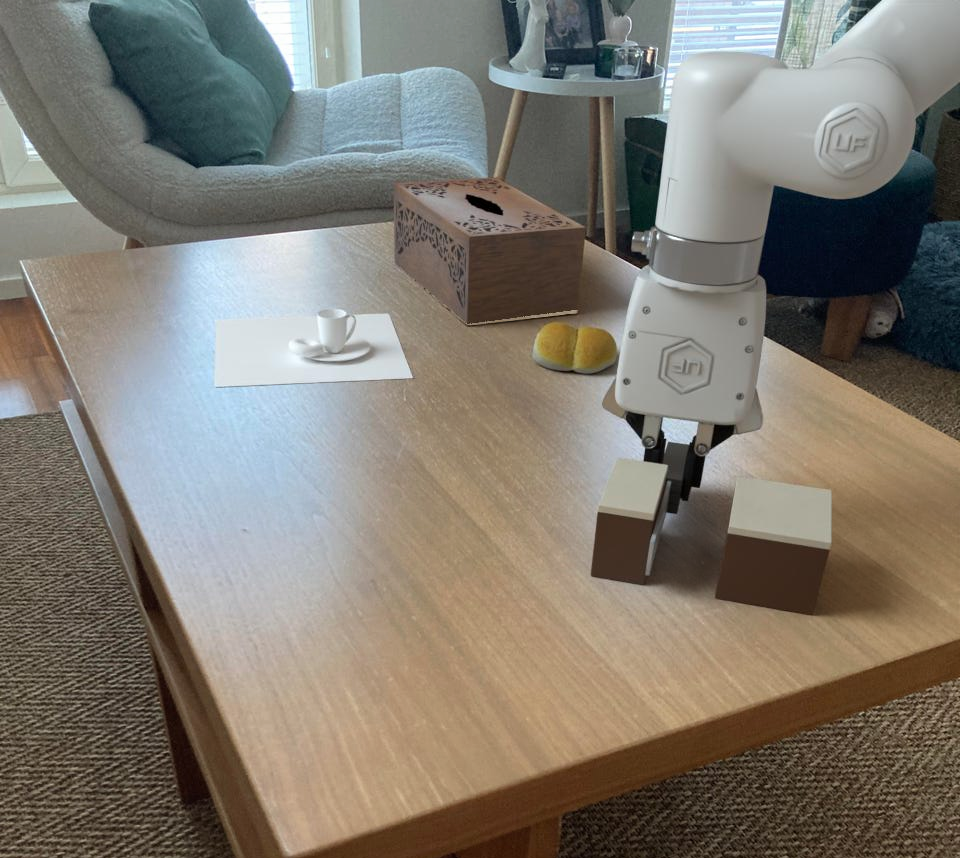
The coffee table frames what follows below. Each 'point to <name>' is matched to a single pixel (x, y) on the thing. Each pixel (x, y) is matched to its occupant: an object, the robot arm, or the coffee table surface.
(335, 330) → the teacup and saucer
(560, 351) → the bread roll
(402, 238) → the tissue box cover
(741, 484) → the cake
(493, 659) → the coffee table surface
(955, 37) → the robot arm
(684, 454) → the knife
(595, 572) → the cake slice
